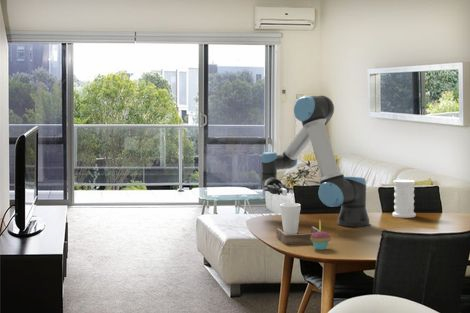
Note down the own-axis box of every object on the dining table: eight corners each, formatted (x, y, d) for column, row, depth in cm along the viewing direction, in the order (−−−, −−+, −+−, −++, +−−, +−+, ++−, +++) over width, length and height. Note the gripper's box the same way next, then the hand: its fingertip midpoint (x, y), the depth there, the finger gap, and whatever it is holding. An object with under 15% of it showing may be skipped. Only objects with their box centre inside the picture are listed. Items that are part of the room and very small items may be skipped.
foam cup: (275, 233, 339) (275, 204, 337) (288, 230, 345) (288, 202, 344) (292, 235, 332) (292, 207, 331) (304, 232, 339) (304, 204, 338)
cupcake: (308, 246, 309) (308, 218, 308) (328, 246, 310) (328, 217, 309) (312, 251, 301) (312, 222, 300) (333, 250, 302) (333, 221, 300)
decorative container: (392, 217, 375) (392, 182, 374) (392, 213, 387) (392, 179, 385) (415, 218, 373) (416, 182, 371) (415, 214, 384) (415, 179, 382)
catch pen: (276, 237, 329) (276, 228, 329) (313, 235, 333) (313, 226, 332) (285, 244, 314) (285, 235, 313) (324, 242, 317) (324, 233, 316)
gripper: (286, 192, 369) (299, 200, 346) (260, 193, 367) (271, 201, 344) (286, 177, 369) (299, 184, 345) (260, 178, 366) (271, 185, 343)
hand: (285, 192), depth 345 cm, fingers closed
